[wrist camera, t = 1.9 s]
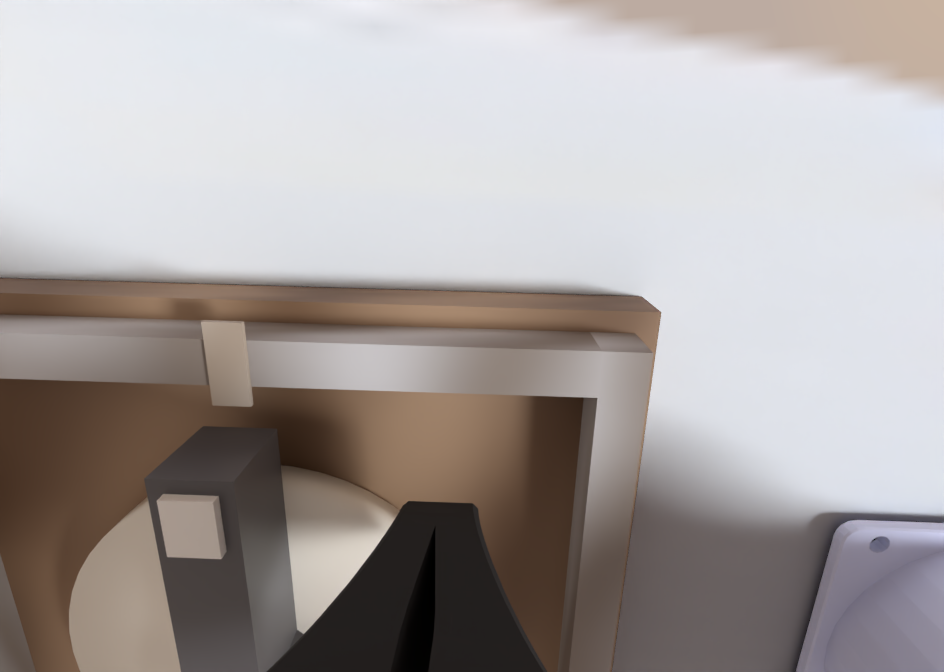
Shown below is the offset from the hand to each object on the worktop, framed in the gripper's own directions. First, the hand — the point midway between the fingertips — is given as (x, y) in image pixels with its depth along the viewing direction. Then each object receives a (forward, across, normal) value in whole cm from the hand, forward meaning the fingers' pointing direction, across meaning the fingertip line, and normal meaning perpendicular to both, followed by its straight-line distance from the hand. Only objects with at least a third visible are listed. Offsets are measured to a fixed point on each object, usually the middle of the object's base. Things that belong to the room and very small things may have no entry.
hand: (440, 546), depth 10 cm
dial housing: (+4, +4, +5) cm, 8 cm away
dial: (+3, +4, +4) cm, 7 cm away
